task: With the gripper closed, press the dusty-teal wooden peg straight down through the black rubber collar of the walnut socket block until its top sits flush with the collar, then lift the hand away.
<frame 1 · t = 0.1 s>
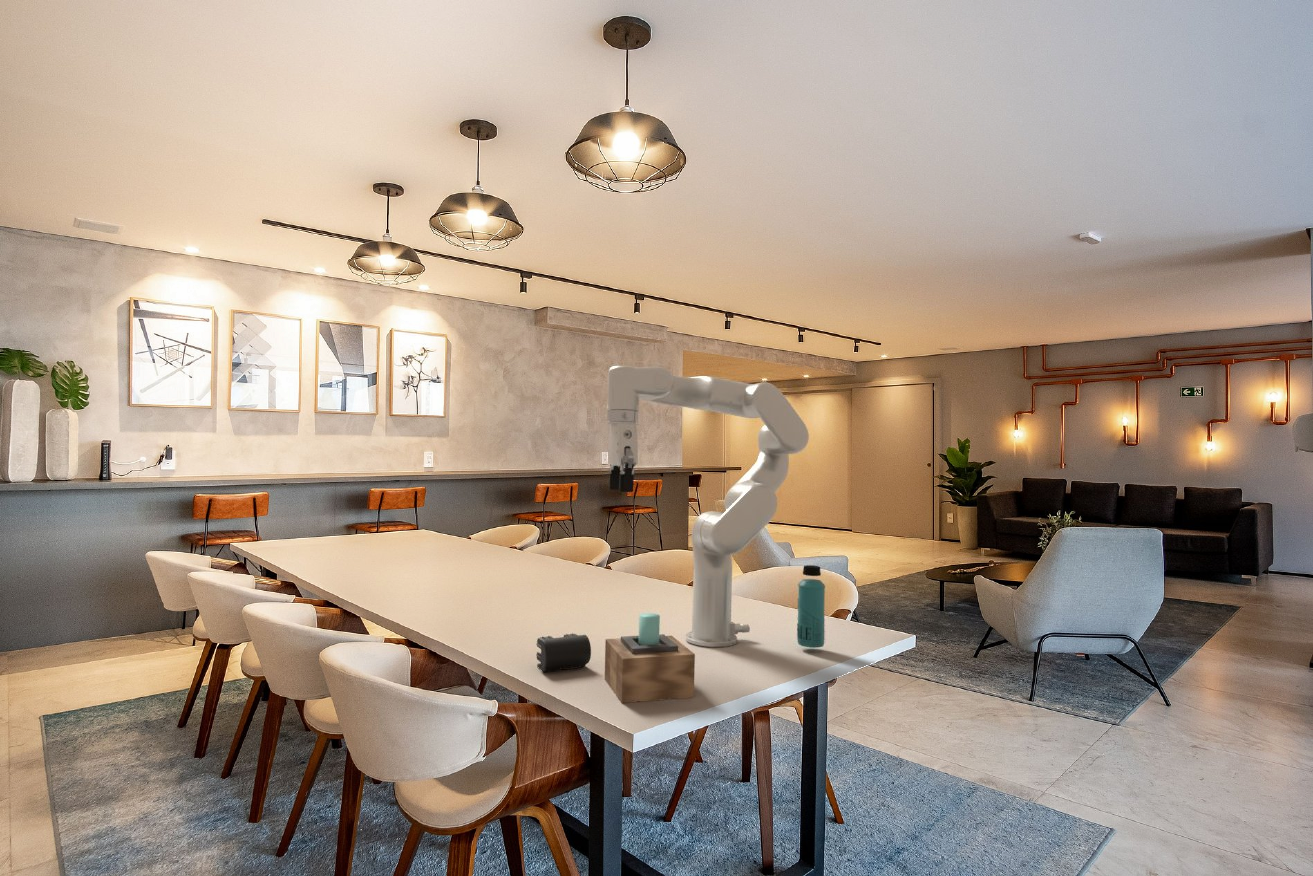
hand: (620, 490, 167), 37 cm above the table, tool pointing down, fingers open, 9 cm apart
end cap: (562, 669, 149), on the table
peg: (648, 638, 138), point 10 cm above the table, slide at 5.0 cm
beverage bottle: (810, 651, 167), on the table
socket block: (647, 687, 137), on the table
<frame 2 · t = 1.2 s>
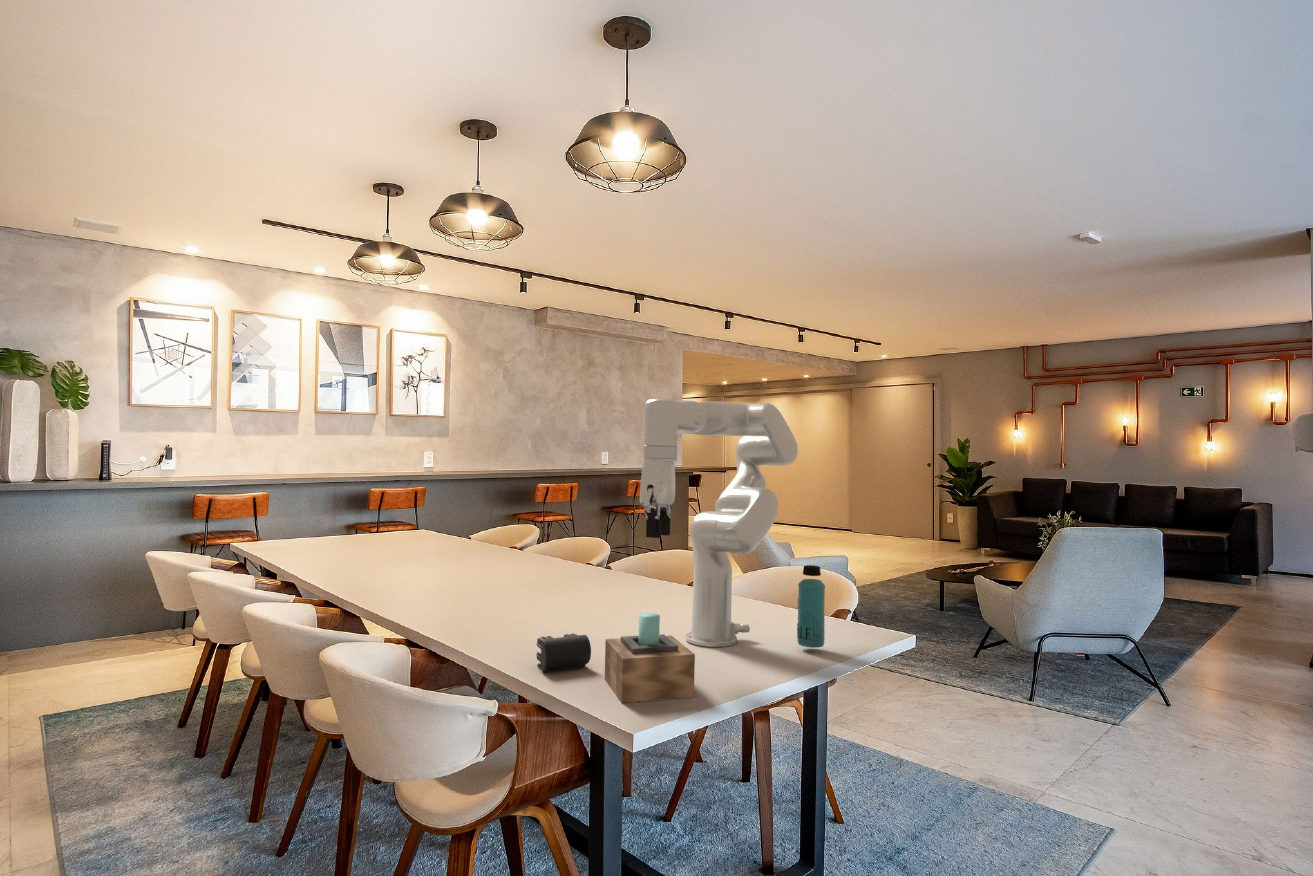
hand: (658, 535, 157), 27 cm above the table, tool pointing down, fingers open, 4 cm apart
nothing on the table moved.
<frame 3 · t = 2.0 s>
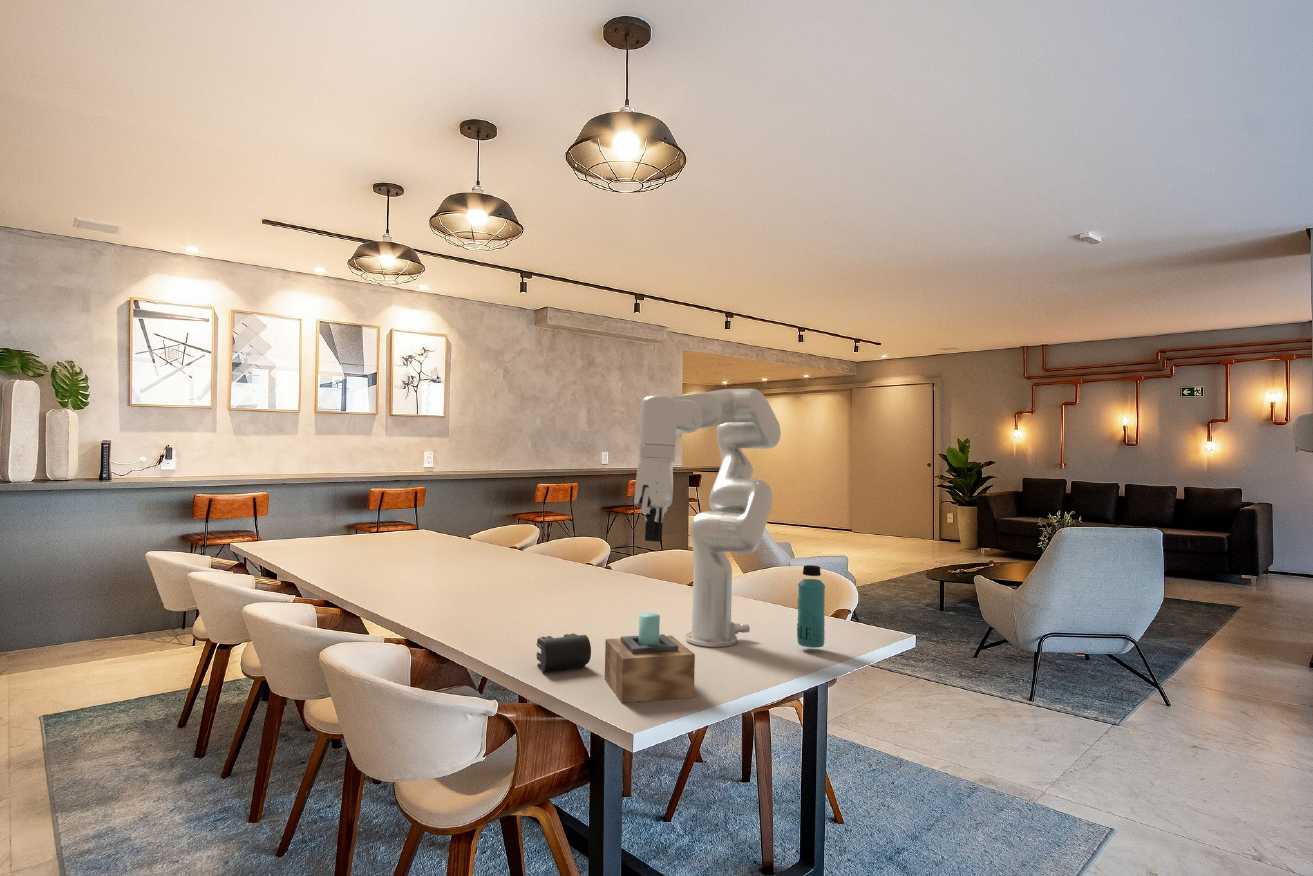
hand: (653, 540, 149), 27 cm above the table, tool pointing down, fingers closed
nothing on the table moved.
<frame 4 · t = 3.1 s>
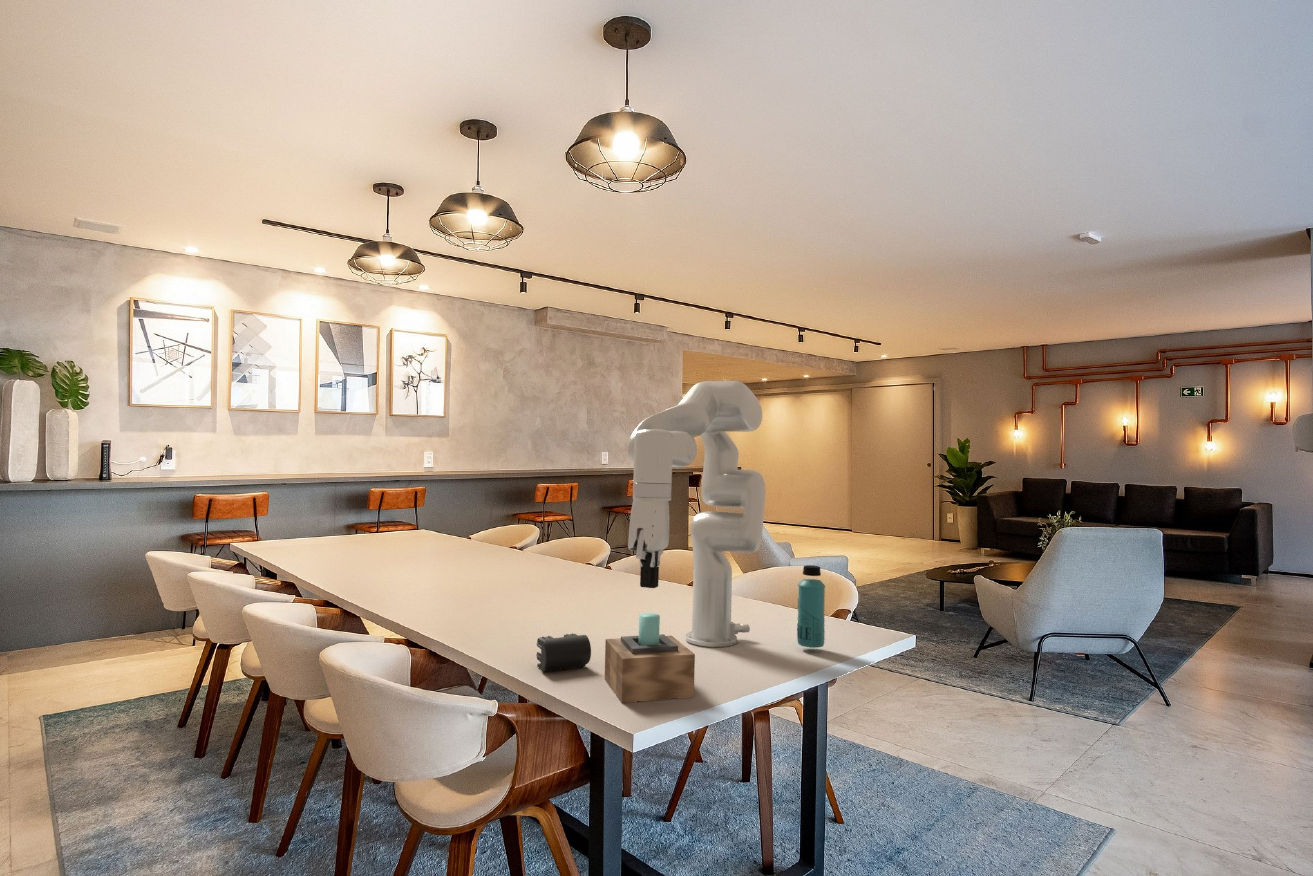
hand: (649, 586, 137), 20 cm above the table, tool pointing down, fingers closed
nothing on the table moved.
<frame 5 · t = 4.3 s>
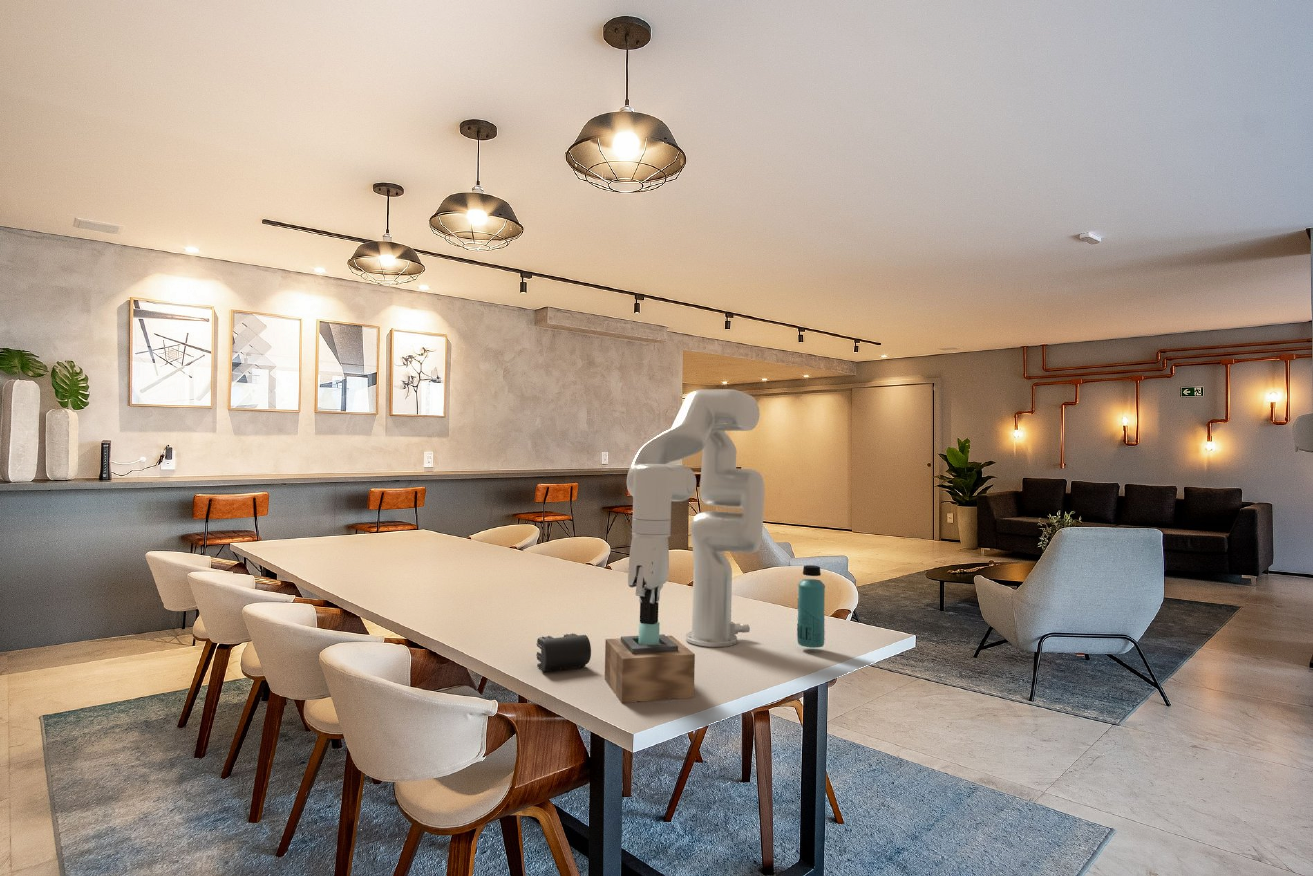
hand: (648, 622, 137), 13 cm above the table, tool pointing down, fingers closed
peg: (648, 645, 138), point 8 cm above the table, slide at 3.6 cm, touching gripper
everything else where it was.
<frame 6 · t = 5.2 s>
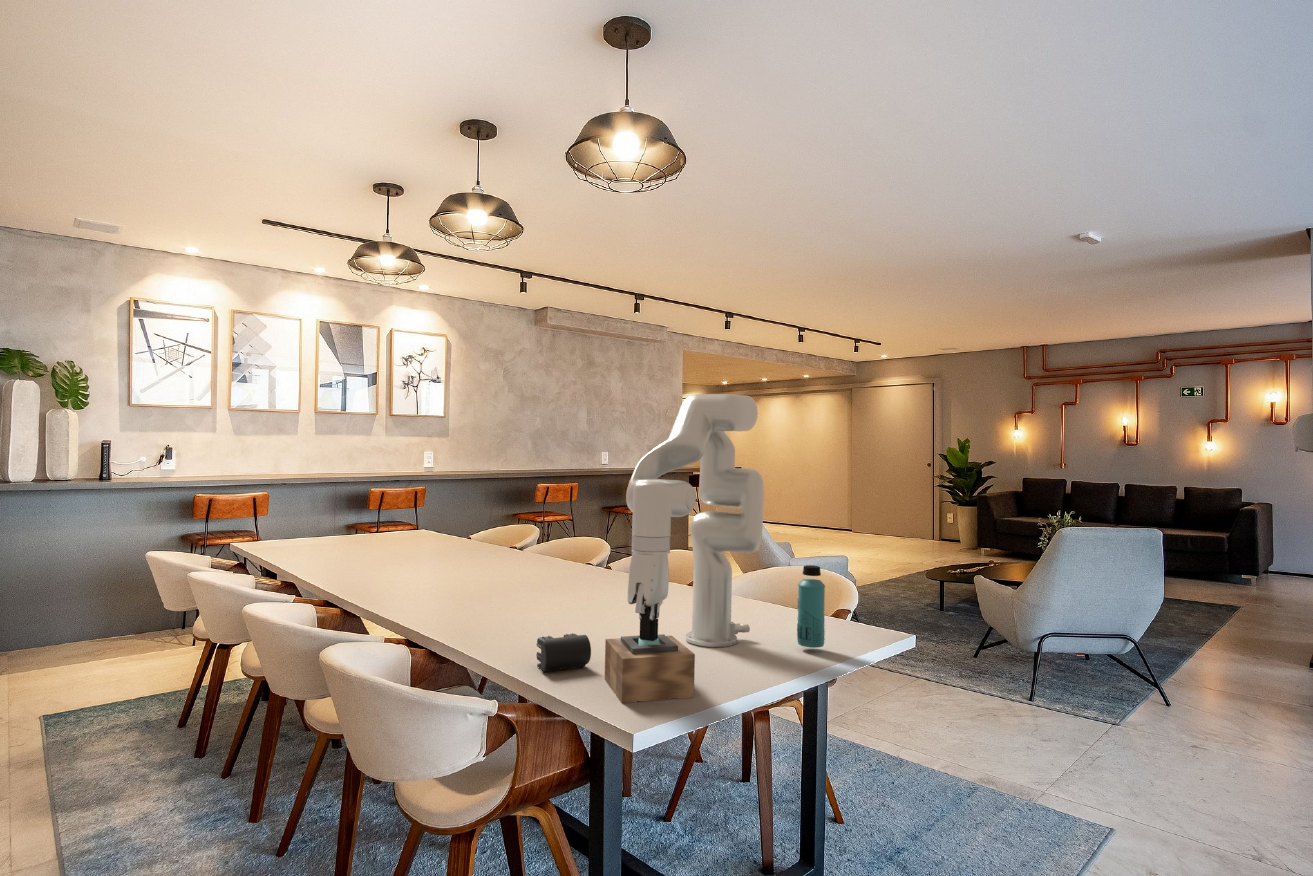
hand: (648, 639, 137), 9 cm above the table, tool pointing down, fingers closed
peg: (648, 662, 137), point 5 cm above the table, slide at 0.4 cm, touching gripper
everything else where it was.
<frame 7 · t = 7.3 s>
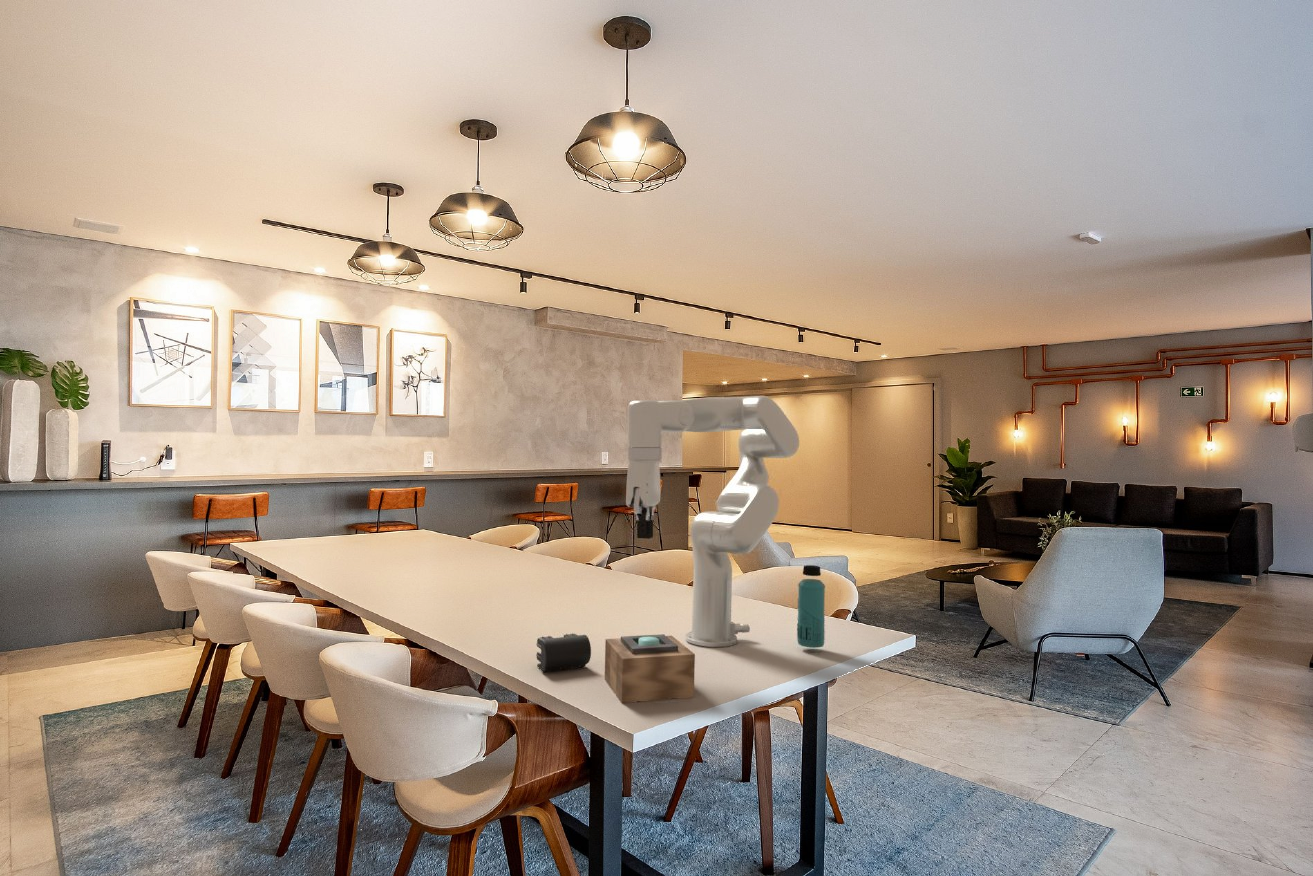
hand: (645, 537, 158), 27 cm above the table, tool pointing down, fingers closed
peg: (648, 662, 137), point 5 cm above the table, slide at 0.4 cm
everything else where it was.
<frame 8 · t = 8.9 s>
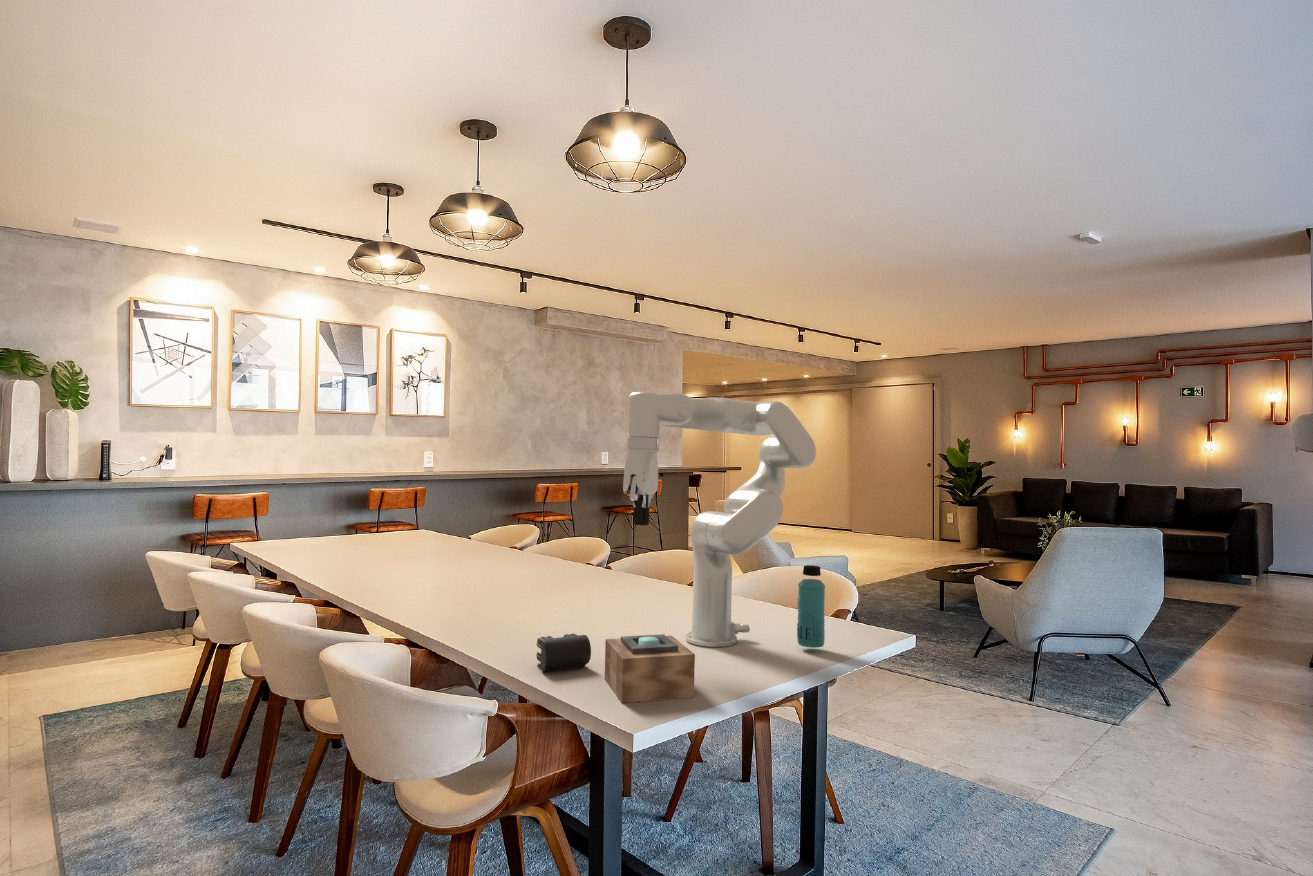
hand: (641, 524, 163), 29 cm above the table, tool pointing down, fingers closed
nothing on the table moved.
at the end: peg slide at 0.4 cm; peg touching nothing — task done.
